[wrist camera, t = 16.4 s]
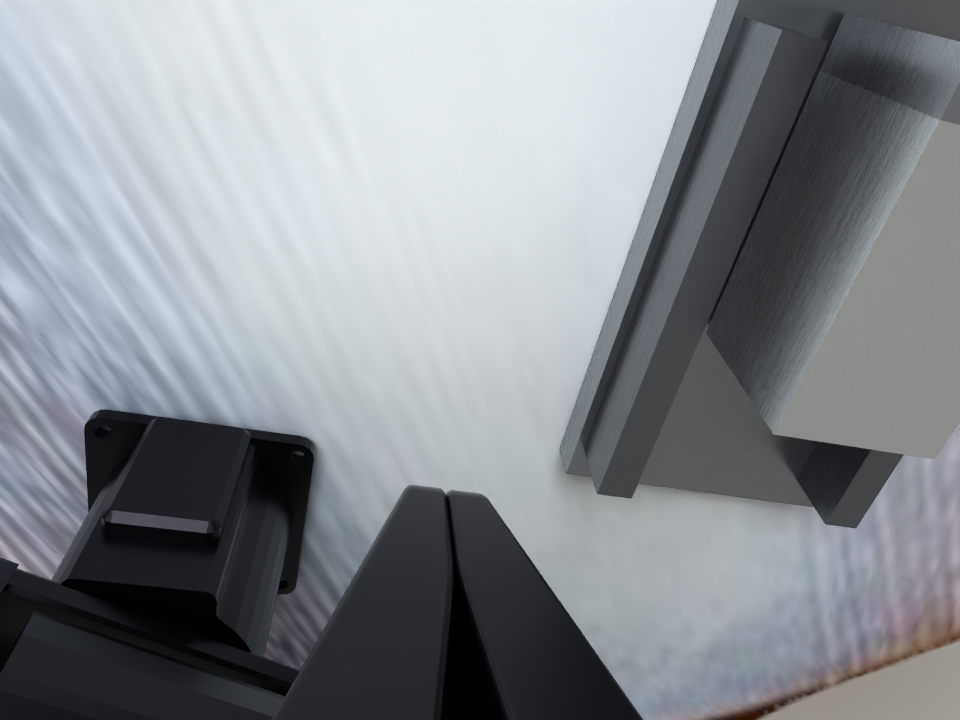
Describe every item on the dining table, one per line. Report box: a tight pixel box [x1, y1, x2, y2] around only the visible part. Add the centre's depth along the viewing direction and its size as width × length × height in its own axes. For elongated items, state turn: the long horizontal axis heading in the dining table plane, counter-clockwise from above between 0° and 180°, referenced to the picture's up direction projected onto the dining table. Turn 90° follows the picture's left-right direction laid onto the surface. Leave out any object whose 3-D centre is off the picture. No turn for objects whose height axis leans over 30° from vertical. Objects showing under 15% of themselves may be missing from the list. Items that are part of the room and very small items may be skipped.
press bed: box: [560, 0, 960, 528], centre depth 17 cm, size 22×8×3 cm, turn 167°
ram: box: [706, 13, 960, 459], centre depth 16 cm, size 8×4×4 cm, turn 167°
